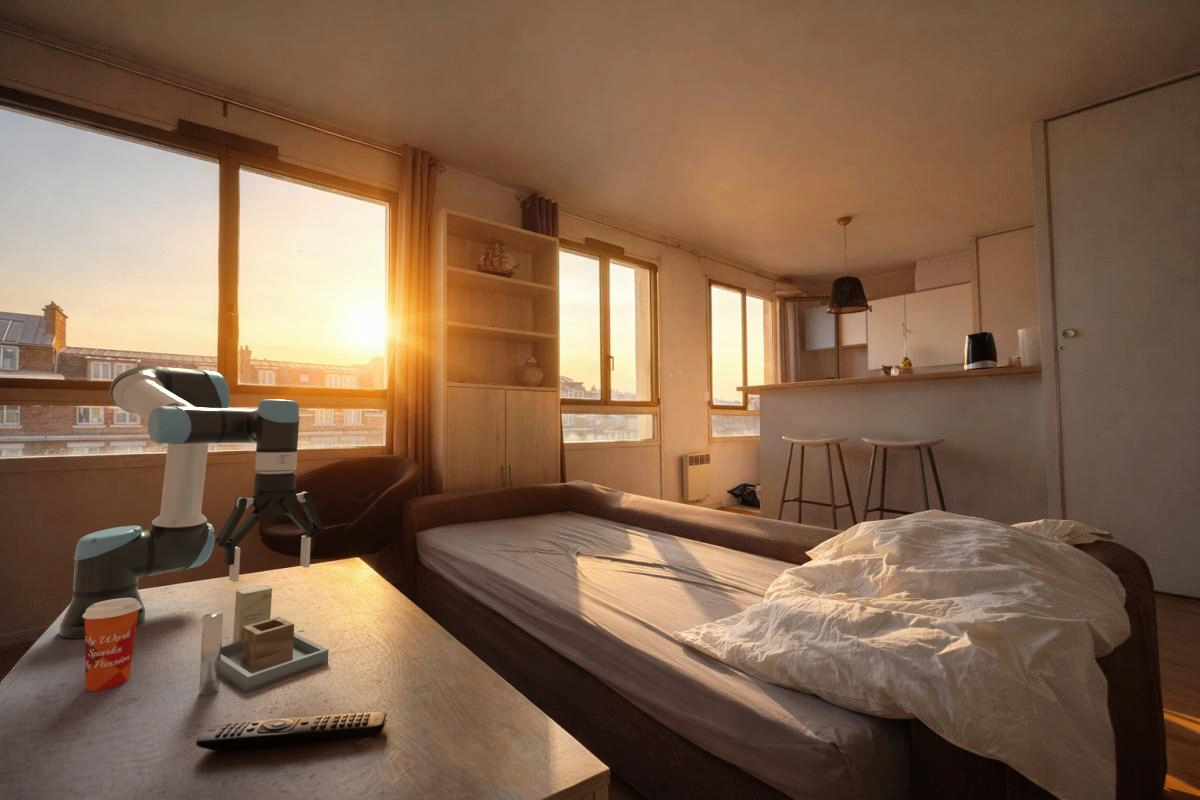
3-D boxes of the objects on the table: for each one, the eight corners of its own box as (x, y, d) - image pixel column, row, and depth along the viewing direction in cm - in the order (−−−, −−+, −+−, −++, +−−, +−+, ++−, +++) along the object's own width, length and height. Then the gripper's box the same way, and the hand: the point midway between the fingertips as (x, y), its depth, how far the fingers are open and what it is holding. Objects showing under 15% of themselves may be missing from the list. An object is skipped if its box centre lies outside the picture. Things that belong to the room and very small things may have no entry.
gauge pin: (196, 692, 96) (200, 615, 97) (215, 686, 98) (219, 611, 99) (202, 697, 94) (206, 619, 95) (221, 690, 97) (225, 614, 97)
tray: (205, 663, 108) (206, 649, 108) (283, 640, 120) (283, 627, 120) (247, 692, 96) (248, 677, 96) (327, 663, 108) (328, 649, 109)
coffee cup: (68, 698, 93) (74, 613, 94) (87, 678, 101) (93, 600, 101) (129, 688, 97) (134, 606, 98) (143, 669, 104) (148, 594, 105)
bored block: (240, 661, 107) (242, 626, 108) (277, 649, 113) (278, 616, 113) (255, 670, 103) (257, 634, 104) (292, 657, 109) (294, 624, 109)
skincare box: (238, 650, 114) (241, 594, 115) (231, 644, 117) (234, 590, 118) (270, 641, 119) (273, 587, 120) (263, 636, 122) (266, 583, 123)
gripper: (213, 477, 98) (206, 591, 97) (342, 469, 118) (338, 563, 117) (198, 474, 102) (192, 583, 101) (326, 467, 122) (322, 558, 121)
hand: (271, 573), depth 109 cm, fingers open, 13 cm apart
